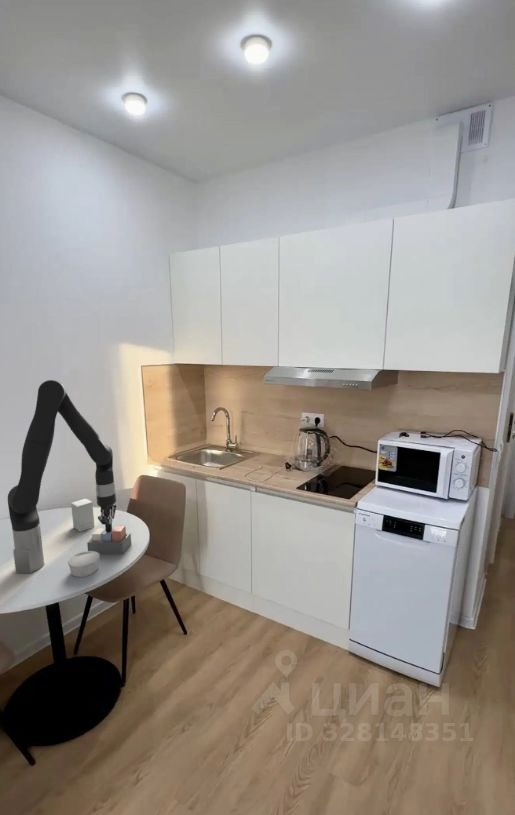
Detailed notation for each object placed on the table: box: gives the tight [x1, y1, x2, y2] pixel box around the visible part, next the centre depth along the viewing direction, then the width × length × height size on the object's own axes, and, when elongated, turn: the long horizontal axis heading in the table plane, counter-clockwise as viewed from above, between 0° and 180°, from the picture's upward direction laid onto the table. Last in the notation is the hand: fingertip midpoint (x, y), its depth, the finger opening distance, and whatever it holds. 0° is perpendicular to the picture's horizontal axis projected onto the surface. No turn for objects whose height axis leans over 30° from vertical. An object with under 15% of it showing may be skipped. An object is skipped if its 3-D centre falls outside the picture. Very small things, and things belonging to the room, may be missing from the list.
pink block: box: [112, 525, 127, 541], centre depth 165 cm, size 5×4×5 cm
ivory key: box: [91, 527, 106, 541], centre depth 166 cm, size 5×4×5 cm
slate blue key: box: [102, 528, 114, 541], centre depth 166 cm, size 5×4×5 cm
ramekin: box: [67, 550, 101, 578], centre depth 151 cm, size 11×11×5 cm
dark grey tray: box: [86, 532, 132, 555], centre depth 166 cm, size 9×15×5 cm, turn 86°
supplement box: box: [70, 498, 95, 532], centre depth 186 cm, size 7×7×13 cm
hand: (109, 531), depth 166 cm, fingers closed
